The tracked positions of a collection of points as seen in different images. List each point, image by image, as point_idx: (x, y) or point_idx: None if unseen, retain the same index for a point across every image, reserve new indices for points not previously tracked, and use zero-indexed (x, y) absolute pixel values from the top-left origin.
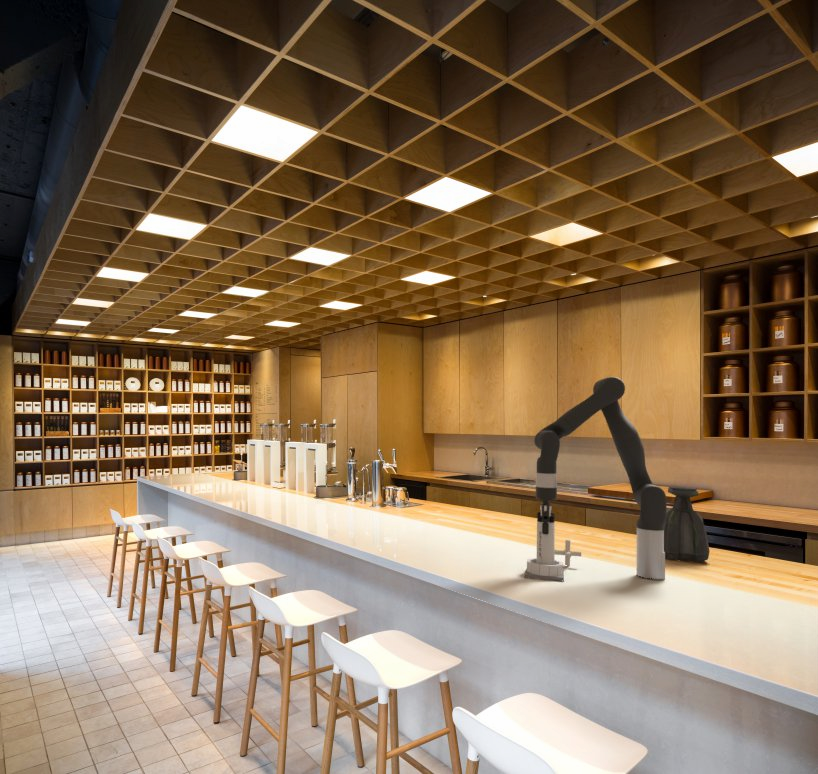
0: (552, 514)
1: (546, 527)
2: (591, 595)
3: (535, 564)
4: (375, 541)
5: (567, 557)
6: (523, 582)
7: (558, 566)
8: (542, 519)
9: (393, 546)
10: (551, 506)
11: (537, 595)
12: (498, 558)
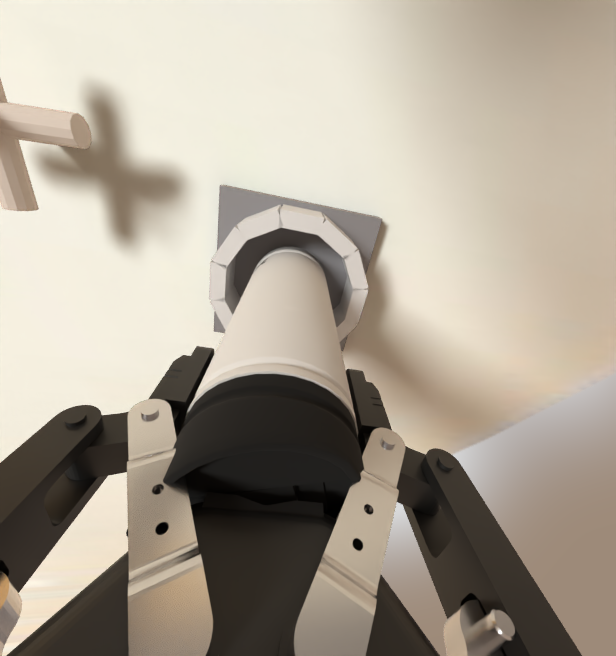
0: (214, 455)
1: (384, 418)
2: (597, 142)
3: (343, 336)
4: (59, 594)
5: (90, 140)
6: (403, 354)
7: (353, 244)
8: (439, 514)
9: (90, 572)
10: (321, 651)
11: (553, 334)
12: (74, 394)
